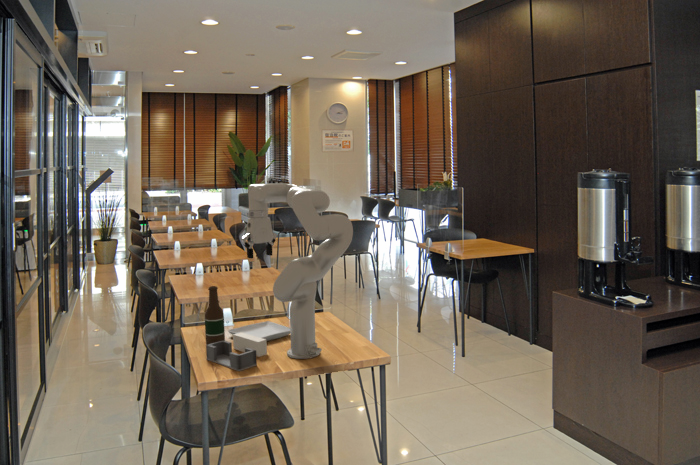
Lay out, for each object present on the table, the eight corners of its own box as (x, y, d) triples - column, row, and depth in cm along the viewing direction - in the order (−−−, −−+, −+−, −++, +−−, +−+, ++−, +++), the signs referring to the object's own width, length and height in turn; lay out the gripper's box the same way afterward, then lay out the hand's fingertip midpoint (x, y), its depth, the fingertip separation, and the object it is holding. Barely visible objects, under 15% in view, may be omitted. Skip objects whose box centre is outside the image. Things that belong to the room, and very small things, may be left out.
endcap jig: (256, 365, 202) (256, 350, 201) (238, 371, 196) (238, 355, 196) (224, 354, 215) (223, 340, 215) (206, 359, 209) (205, 345, 209)
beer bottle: (207, 347, 224) (204, 289, 221) (204, 342, 231) (201, 285, 228) (226, 345, 227) (224, 287, 224) (223, 340, 234) (220, 284, 231)
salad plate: (226, 337, 240) (226, 329, 239) (268, 327, 254) (268, 320, 253) (252, 347, 224) (252, 339, 224) (295, 336, 238) (295, 329, 238)
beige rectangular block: (266, 354, 214) (266, 339, 214) (258, 357, 211) (258, 342, 211) (241, 346, 225) (241, 332, 224) (233, 349, 222) (232, 334, 222)
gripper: (246, 216, 215) (248, 260, 217) (281, 213, 227) (282, 255, 229) (235, 215, 220) (236, 258, 222) (269, 213, 232) (270, 253, 234)
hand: (260, 256), depth 225 cm, fingers open, 9 cm apart
